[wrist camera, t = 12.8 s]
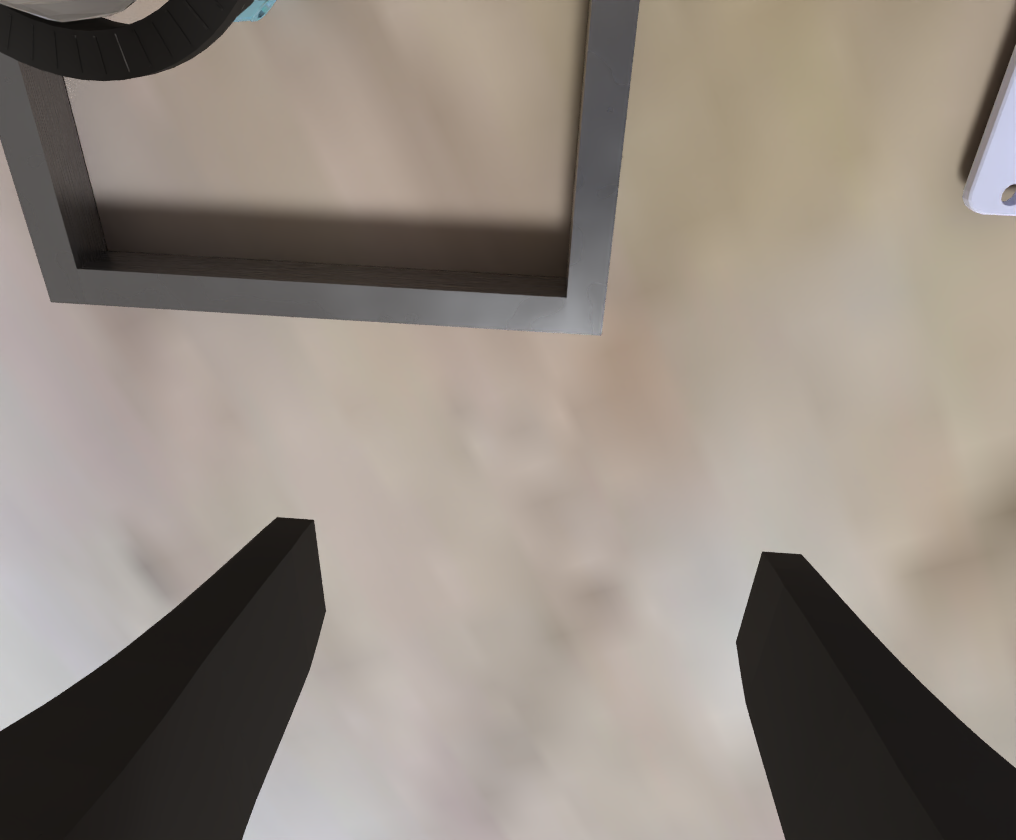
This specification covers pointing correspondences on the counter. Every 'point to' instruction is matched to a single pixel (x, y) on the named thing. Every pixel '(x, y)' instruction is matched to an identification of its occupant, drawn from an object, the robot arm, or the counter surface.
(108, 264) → the frame
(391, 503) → the counter surface
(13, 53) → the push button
